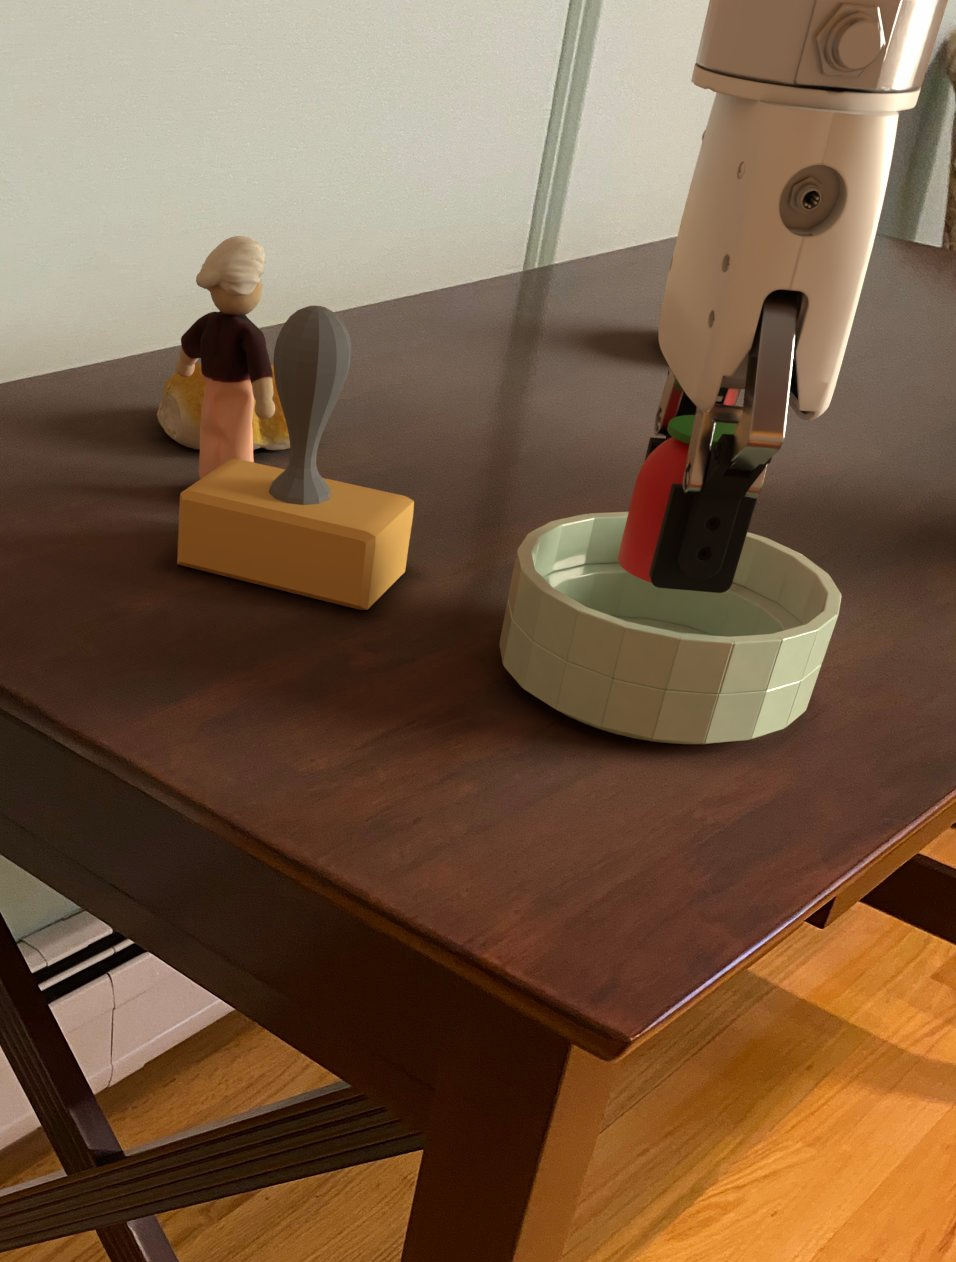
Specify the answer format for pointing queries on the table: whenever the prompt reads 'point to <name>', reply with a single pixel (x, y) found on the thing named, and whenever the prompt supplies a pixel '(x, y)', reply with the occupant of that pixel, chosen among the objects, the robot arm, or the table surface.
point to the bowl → (665, 637)
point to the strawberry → (657, 494)
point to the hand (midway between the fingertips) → (677, 556)
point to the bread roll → (185, 409)
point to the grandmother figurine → (229, 354)
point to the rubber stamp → (299, 493)
